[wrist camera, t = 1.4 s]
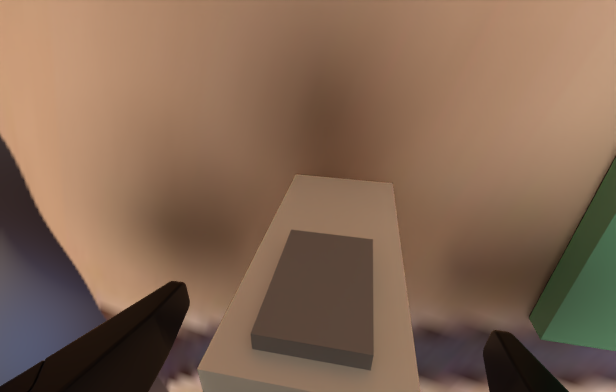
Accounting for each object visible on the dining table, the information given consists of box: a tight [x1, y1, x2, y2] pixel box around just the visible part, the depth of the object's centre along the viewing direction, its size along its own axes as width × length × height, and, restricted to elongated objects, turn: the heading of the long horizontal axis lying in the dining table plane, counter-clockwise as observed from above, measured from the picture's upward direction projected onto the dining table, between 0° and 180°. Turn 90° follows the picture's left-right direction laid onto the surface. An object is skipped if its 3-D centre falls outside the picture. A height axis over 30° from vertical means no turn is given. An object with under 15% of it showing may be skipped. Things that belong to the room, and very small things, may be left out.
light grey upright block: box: [197, 174, 420, 392], centre depth 9 cm, size 5×4×8 cm, turn 179°
